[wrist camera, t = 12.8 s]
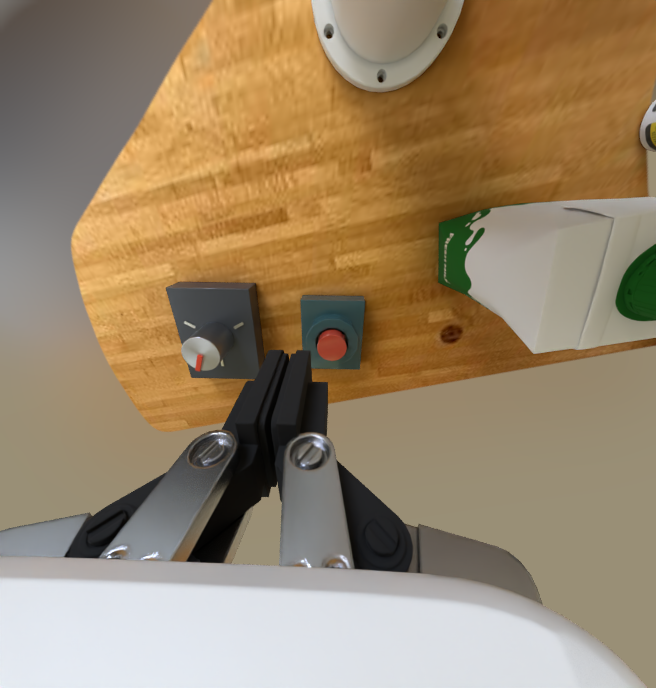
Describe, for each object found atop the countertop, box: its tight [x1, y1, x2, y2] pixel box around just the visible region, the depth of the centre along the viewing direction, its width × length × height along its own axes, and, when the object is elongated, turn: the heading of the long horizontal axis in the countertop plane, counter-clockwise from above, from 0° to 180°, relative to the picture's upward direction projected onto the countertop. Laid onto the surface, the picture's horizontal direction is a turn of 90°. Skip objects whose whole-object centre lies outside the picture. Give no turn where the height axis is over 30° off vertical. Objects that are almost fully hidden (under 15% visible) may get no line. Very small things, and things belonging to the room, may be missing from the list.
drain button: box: [317, 329, 347, 361], centre depth 31 cm, size 4×4×2 cm
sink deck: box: [166, 282, 265, 379], centre depth 34 cm, size 13×10×3 cm
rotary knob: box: [182, 322, 234, 372], centre depth 31 cm, size 4×4×5 cm
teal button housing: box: [301, 295, 365, 369], centre depth 34 cm, size 10×8×4 cm
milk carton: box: [438, 197, 656, 354], centre depth 21 cm, size 9×9×20 cm
